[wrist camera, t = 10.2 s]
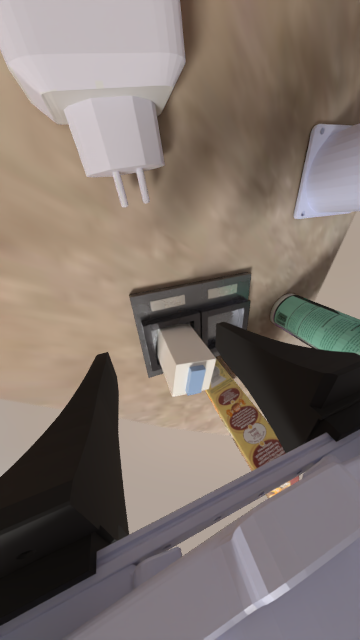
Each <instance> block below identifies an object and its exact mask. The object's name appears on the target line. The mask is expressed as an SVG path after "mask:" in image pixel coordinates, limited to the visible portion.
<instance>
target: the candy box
mask: <svg viewBox="0 0 360 640" xmlns="http://www.w3.org/2000/svg"><path fill="white" fill-rule="evenodd" d="M215 358H216V357H215ZM205 391H206V393H207V395H208V397H209V399H210V400H211V402H212V404H213V406H214V407H215V409H216V411H217V413H218V414H219V416H220V418H221V420H222V421H223V423H224V425H225V427H226V428H227V430H228V432H229V433H230V435H231V437H232V438H233V440H234V442H235V443H236V445H237V447H238V449H239V451H240V452H241V454H242V456H243V457H244V459H245V461H246V462H247V464H248V466H249V467H250V469H251V471H253V470H255V469H257V468H259V467H261V466H263V465H265V464H266V463H268V462H270V461H272V460H274V459H276V458H278V457H280V456H282V455H284V454H286V453H285V451H284V449H283V447H282V446H281V444H280V442H279V440H278V438H277V437H276V435H275V433H274V431H273V429H272V428H271V426H270V424H269V423H268V422H267V421H266V419H265V418H264V417H263V416H262V414H261V413H260V412H259V411H258V409H257V408H256V407H255V406H254V405H253V403H252V402H251V401H250V400H249V399H248V397H247V396H246V395H245V394H244V392H243V391H242V390H241V389H240V387H239V386H238V385H237V384H236V382H235V381H234V380H233V379H232V377H231V376H230V375H229V374H228V373H227V371H226V370H225V369H224V368H223V366H222V365H221V364H220V362H219V361H218V360H217V359H216V362H215V366H214V370H213V374H212V378H211V382H210V386H209V389H207V390H205ZM298 481H299V476H297V477H295V478H293V479H292V480H290V481H288V482H286V483H285V484H283V485H281V486H279V487H278V488H276V489H274V490H272V491H271V492H269V493H267V494H266V495H267V497H268V498H270V497H272V496H274V495H275V494H277V493H279V492H281V491H282V490H284V489H286V488H287V487H289V486H291V485H293V484H294V483H296V482H298Z"/></svg>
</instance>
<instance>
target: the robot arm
mask: <svg viewBox="0 0 360 640" xmlns="http://www.w3.org/2000/svg"><path fill="white" fill-rule="evenodd" d="M320 130H321V133H320ZM352 211H360V123H359V124H356V125H354V126H352V125H334V124H317V125H315V126H314V127H313V129H312V131H311V136H310V141H309V145H308V150H307V155H306V159H305V164H304V169H303V174H302V178H301V183H300V188H299V193H298V197H297V202H296V207H295V212H294V218H295V219H303V218H311V217H320V216H329V215H337V214H346V213H350V212H352ZM301 214H302V215H301ZM215 347H216V349H217V350H218V352H219V354H220V355H221V357H222V358H223V360H224V361H225V362H226V363H227V365H228V366H229V367H230V368H231V370H232V371H233V372H234V373H235V374H236V376H237V377H238V378H239V379H240V380H241V382H242V383H243V384H244V385H245V387H246V388H247V389H248V391H249V392H250V394H251V395H252V397H253V398H254V400H255V401H256V403H257V405H258V406H259V408H260V409H261V411H262V413H263V414H264V416H265V417H266V419H267V421H268V423H269V424H270V426H271V428H272V429H273V431H274V433H275V435H276V437H277V438H278V440H279V442H280V444H281V446H282V447H283V449H284V451H285V453H286V454H284V455H282V456H280V457H278V458H276V459H274V460H272V461H270V462H268V463H266V464H265V465H263V466H261V467H259V468H257V469H255V470H253V471H251V472H249V473H247V474H245V475H243V476H241V477H240V478H238V479H236V480H234V481H232V482H230V483H228V484H226V485H224V486H222V487H220V488H218V489H216V490H214V491H213V492H211V493H209V494H207V495H205V496H203V497H201V498H199V499H197V500H195V501H193V502H192V503H189V504H188V505H186V506H184V507H182V508H180V509H178V510H176V511H174V512H172V513H170V514H169V515H166V516H165V517H163V518H161V519H159V520H157V521H155V522H153V523H151V524H149V525H147V526H145V527H143V528H141V529H139V530H137V531H136V532H134V533H132V534H130V535H129V531H128V522H127V514H126V506H125V499H124V489H123V480H122V470H121V460H120V450H119V438H118V404H119V391H118V382H117V376H116V373H115V370H114V367H113V365H112V362H111V359H110V356H109V354H108V352H106V353H103V354H99V355H97V356H96V357H95V359H94V361H93V363H92V365H91V367H90V369H89V371H88V373H87V374H86V376H85V378H84V379H83V381H82V383H81V384H80V386H79V388H78V389H77V391H76V392H75V394H74V395H73V397H72V398H71V400H70V401H69V403H68V404H67V405H66V407H65V408H64V409H63V411H62V412H61V413H60V415H59V416H58V417H57V418H56V420H55V421H54V422H53V423H52V424H51V425H50V427H49V428H48V429H47V430H46V431H45V432H44V434H43V435H42V436H41V437H40V438H39V439H38V440H37V441H36V442H35V443H34V444H33V446H31V448H30V449H29V450H28V451H27V452H26V453H25V454H24V455H23V456H22V457H21V458H20V459H19V460H18V461H17V462H16V463H15V464H14V465H13V466H12V467H11V468H10V469H9V470H8V471H6V472H5V473H4V474H3V475H2V476H1V477H0V640H360V355H358V354H356V353H352V352H340V351H329V350H321V349H314V348H307V347H302V346H297V345H292V344H288V343H284V342H280V341H276V340H273V339H270V338H267V337H264V336H261V335H258V334H255V333H252V332H250V331H247V330H245V329H242V328H240V327H237V326H235V325H232V324H229V323H227V322H221V323H217V324H216V345H215ZM304 472H305V473H304ZM302 473H304V474H303V478H302V479H301V480H300V481H298V482H296V483H294V484H293V485H291V486H289V487H287V488H286V489H284V490H282V491H281V492H279V493H277V494H275V495H274V496H272V497H270V498H268V499H267V500H265V501H264V502H262V503H260V504H259V505H257V506H256V507H254V508H253V509H251V510H250V511H249V512H247V513H246V514H244V515H243V516H241V517H240V518H238V519H237V520H235V521H233V522H232V523H230V524H229V525H227V526H226V527H225V528H223V529H222V530H220V531H219V532H217V533H216V534H214V535H213V536H211V537H210V538H208V539H207V540H206V541H204V542H203V543H201V544H200V545H199V546H197V547H195V548H194V549H192V550H191V551H189V552H188V553H187V554H185V555H184V556H182V553H181V549H180V548H179V547H176V548H173V549H171V548H172V547H174V546H176V545H177V544H179V543H181V542H183V541H185V540H186V539H188V538H190V537H192V536H193V535H195V534H197V533H199V532H200V531H202V530H204V529H206V528H207V527H209V526H211V525H213V524H214V523H216V522H218V521H220V520H221V519H223V518H225V517H227V516H229V515H230V514H232V513H234V512H235V511H237V510H239V509H241V508H242V507H244V506H246V505H248V504H250V503H251V502H253V501H255V500H257V499H258V498H260V497H262V496H263V495H265V494H267V493H269V492H271V491H272V490H274V489H276V488H278V487H279V486H281V485H283V484H285V483H286V482H288V481H290V480H292V479H293V478H295V477H297V476H299V475H300V474H302ZM169 549H170V550H169ZM167 550H168V551H167Z"/></svg>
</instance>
